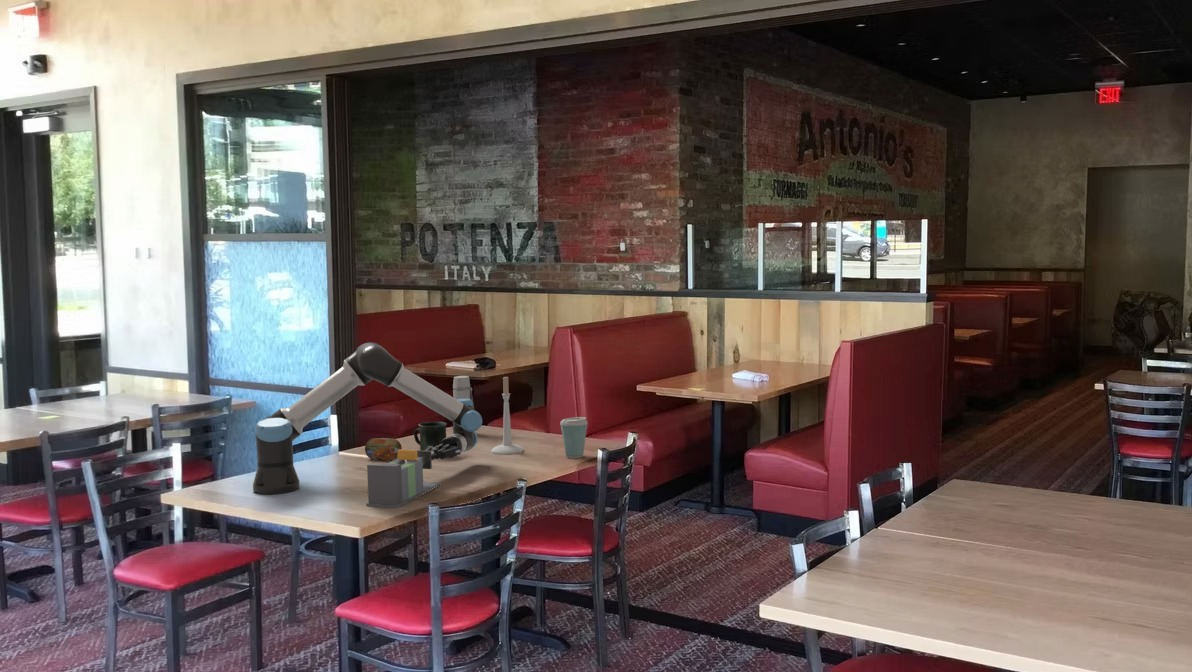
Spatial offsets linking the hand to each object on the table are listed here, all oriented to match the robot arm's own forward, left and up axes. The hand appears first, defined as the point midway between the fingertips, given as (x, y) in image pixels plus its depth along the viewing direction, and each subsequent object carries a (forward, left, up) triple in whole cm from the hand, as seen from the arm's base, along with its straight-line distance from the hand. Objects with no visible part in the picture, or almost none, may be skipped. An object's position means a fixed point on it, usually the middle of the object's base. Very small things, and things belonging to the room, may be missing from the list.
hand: (423, 459), depth 347 cm
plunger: (-5, -8, -3) cm, 9 cm away
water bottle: (+24, +94, -9) cm, 97 cm away
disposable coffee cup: (+59, +30, -9) cm, 67 cm away
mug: (+6, +54, -9) cm, 56 cm away
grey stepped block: (-7, -12, -9) cm, 17 cm away
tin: (-12, +48, -9) cm, 51 cm away
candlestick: (+36, +49, -9) cm, 62 cm away
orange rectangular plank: (-6, -10, +2) cm, 12 cm away
